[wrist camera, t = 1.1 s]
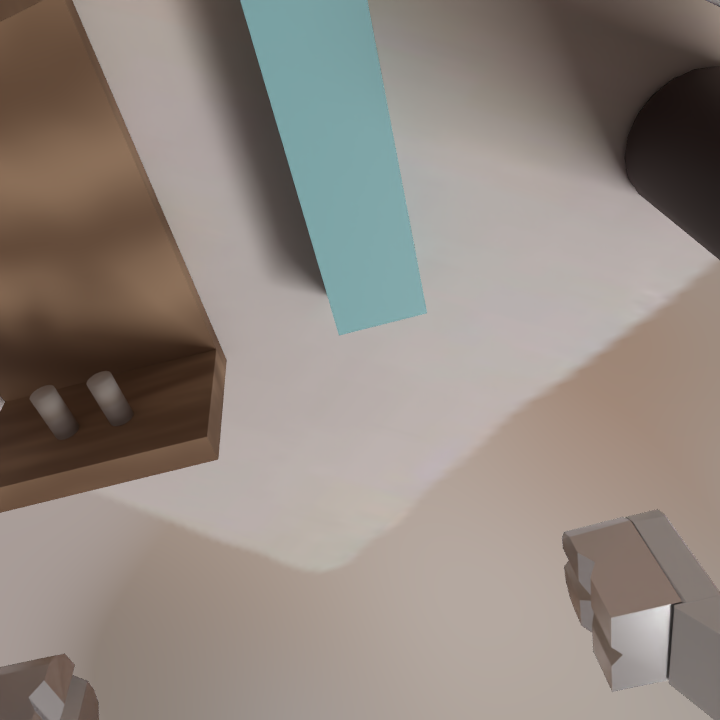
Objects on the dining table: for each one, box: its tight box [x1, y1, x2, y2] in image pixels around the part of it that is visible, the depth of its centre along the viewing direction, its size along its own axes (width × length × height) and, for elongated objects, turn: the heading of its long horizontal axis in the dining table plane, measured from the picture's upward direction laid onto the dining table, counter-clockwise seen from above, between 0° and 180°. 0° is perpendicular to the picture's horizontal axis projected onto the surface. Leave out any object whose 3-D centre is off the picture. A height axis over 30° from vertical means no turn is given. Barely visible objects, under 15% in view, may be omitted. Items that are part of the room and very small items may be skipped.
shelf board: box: [240, 0, 427, 335], centre depth 29 cm, size 16×4×4 cm, turn 13°
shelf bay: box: [0, 0, 226, 513], centre depth 28 cm, size 20×12×8 cm, turn 12°
